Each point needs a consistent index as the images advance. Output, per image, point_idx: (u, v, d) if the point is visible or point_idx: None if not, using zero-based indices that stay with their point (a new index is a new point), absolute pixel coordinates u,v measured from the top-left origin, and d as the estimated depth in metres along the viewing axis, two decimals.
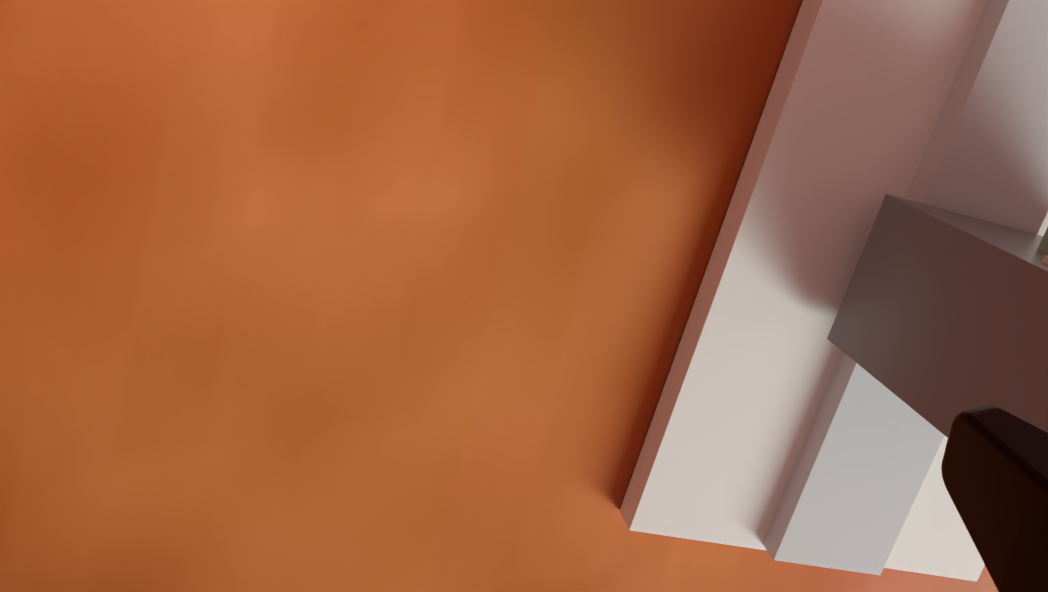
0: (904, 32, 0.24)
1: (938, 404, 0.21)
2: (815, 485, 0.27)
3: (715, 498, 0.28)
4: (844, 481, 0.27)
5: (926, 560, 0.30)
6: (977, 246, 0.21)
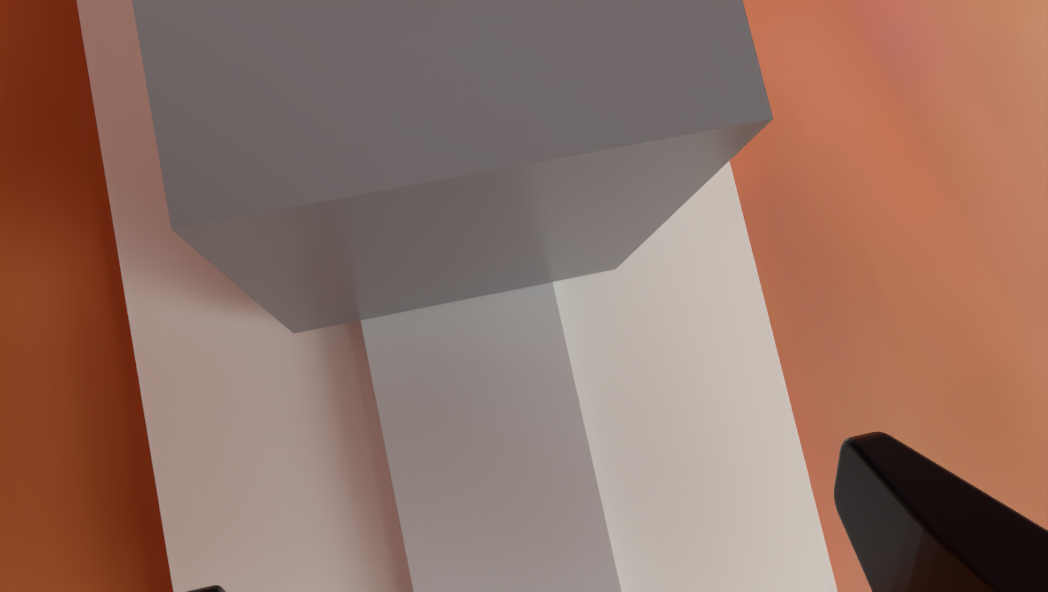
0: None
1: None
2: (424, 552, 0.17)
3: None
4: (466, 525, 0.17)
5: None
6: None
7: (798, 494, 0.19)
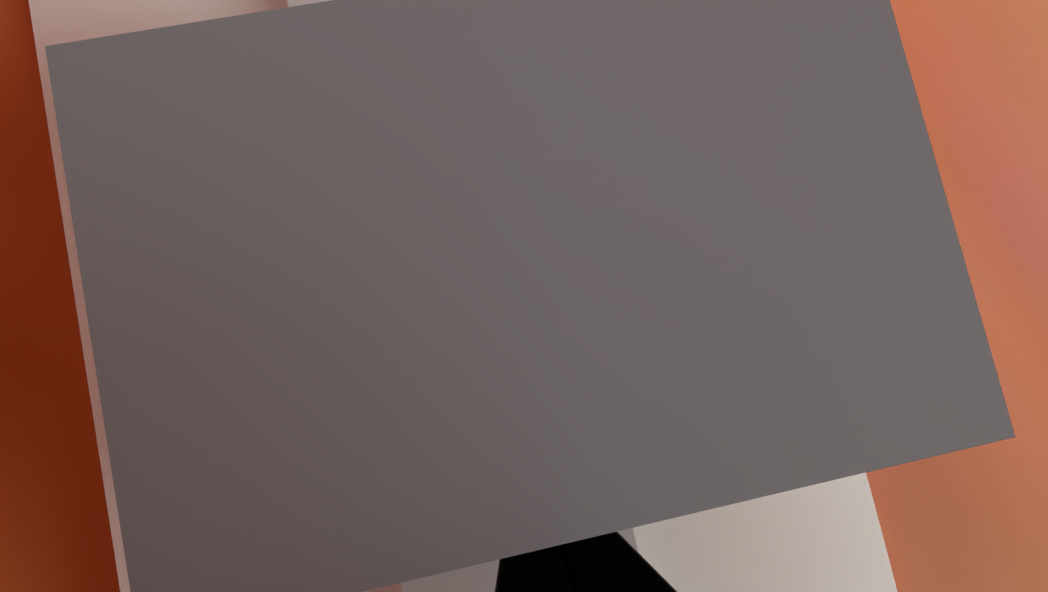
0: None
1: None
2: None
3: None
4: None
5: None
6: None
7: None
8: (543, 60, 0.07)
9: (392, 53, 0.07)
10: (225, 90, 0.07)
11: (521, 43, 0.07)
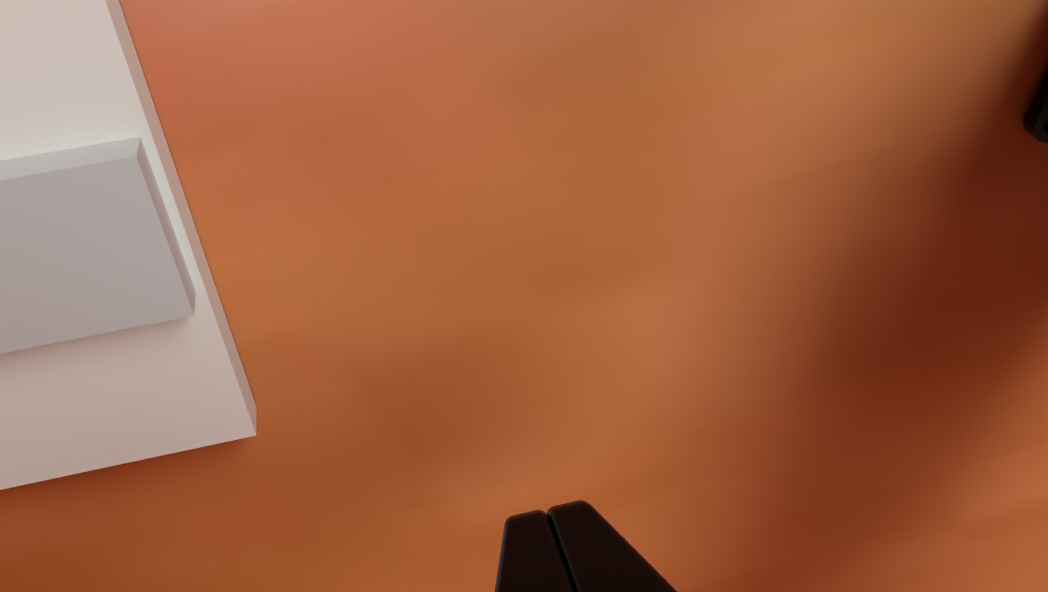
0: None
1: None
2: (57, 328, 0.19)
3: (165, 377, 0.21)
4: (25, 298, 0.18)
5: (86, 30, 0.17)
6: None
7: None
8: None
9: None
10: None
11: None
